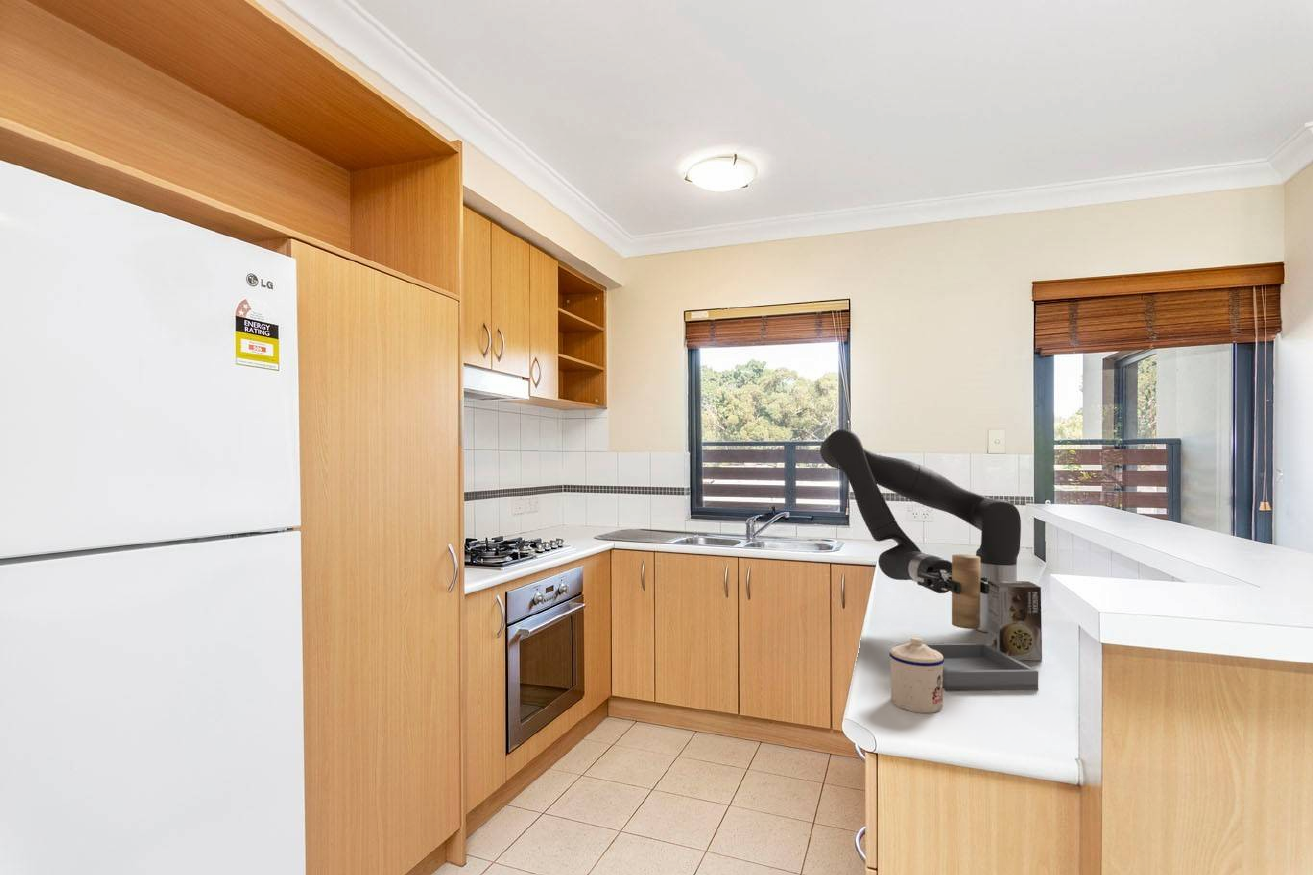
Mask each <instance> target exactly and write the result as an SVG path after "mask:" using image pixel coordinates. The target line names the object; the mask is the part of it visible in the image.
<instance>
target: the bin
mask: <svg viewBox="0 0 1313 875" xmlns="http://www.w3.org/2000/svg"><path fill="white" fill-rule="evenodd" d="M924 644H925V645H927V646H928V647H930V648H931V649H934V650H936V651H938V652H940V653H941V654H942V655H943V658H944V662H943V691H946V692H968V691H969V692H973V691H974V692H975V691H976V692H977V691H979V692H980V691H985V692H986V691H1033V690H1034V691H1038V690H1039V671H1038V670H1037V669H1036V668H1033V667H1031V666H1029V665H1027V664H1025V663H1023V662H1022V661H1021V660H1016V659H1014V658H1012V657H1010V656H1008V655H1006V654H1004V653H1002V652H1001V651H999V650H997V649H995V648H993V647H991V646H989V645H988V643H985V642H976V643H974V642H973V643H971V642H970V643H969V642H968V643H962V642H960V643H955V642H954V643H952V642H951V643H924Z"/></svg>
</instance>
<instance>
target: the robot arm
mask: <svg viewBox="0 0 1313 875" xmlns="http://www.w3.org/2000/svg"><path fill="white" fill-rule="evenodd" d="M819 452H820V457H821V459H822V460H823V461H824V463H826V464H827V465H828V466H829V467H832V468H834V469H836V470H840V471H842V472H843V473H844V474H845V477H846V478H847V479H848V482H849V484H850V486H851V488H852V492H853V494H854V499H855V502H856V505H857V508H858V510H859V513H860V515H861V517H862V519H863V522H864V523H865V525H866V527H867V529H868V532H869V533H870V535H871V537H872V539H873V540H874V541H876V542H884V541H887V540H888V541H889V540H893V541H894V542H895V543H896V544H897V545H895V546H892V547H891V548H889V549H886V550H885V551H883V552H882V553H880V555H879V557H878V559H877V560H878V562H877V563H878V566H879V568H880V570H881V572H882V573H883V574H884V575H885V576H886V577H887V578H890V579H891V580H897V581H913V582H914V583H916V584H917V585H918V586H922V587H923V588H926V589H928V590H930V591H932V592H934V593H937V594H945V593H949V592H951V593H952V592H953V593H955V594H960V593H961V584H960V583H959V582H956V581H953V580H952V561H950V560H948V559H945V558H943V557H939V556H936V555H934V554H929V553H924V552H922V550H921V549H920V548H919V547H918V545H917V544H916V543H915V542H914V541H913V540H912V539H911V538H910V537H909V536H908V535H907V534H906V533H905V532H904V530H903V529H902V528H901V527H900V525H899V524H898V521H897V520H896V518H895V517H894V515H893V512H892V511H891V509H890V507H889V505H888V504H887V502H886V500H885V498H884V496H883V494H882V493H881V491H880V488H879V486H880V487H882V488H885V489H886V490H889V491H891V492H892V493H896V494H897V495H899V496H901V497H903V498H906V499H907V500H910V501H913V502H915V503H917V504H920V505H923V506H925V507H928V508H932V509H934V510H938V511H942V512H945V513H949V514H950V515H953V516H955V517H957V518H958V519H961V520H962V521H964V522H966V523H967V524H969V525H971V526H973V527H975V528H976V529H978V530H979V531H980V532H981V536H980V537H981V538H980V546H979V548H978V549H977V550H976V551H975V556H978V557H980V628H978V629H977V630H978V631H980V632H984V633H987V634H988V593H989V584H988V581H1018V566H1017V565H1018V557H1019V554H1020V551H1021V540H1022V539H1021V538H1022V537H1021V535H1022V520H1021V519H1022V518H1021V515H1020V514H1021V513H1020V511H1019V510H1018V508H1017V506H1016V505H1015V504H1013V503H1011V502H1010V501H1008V500H1004V499H1000V498H998V499H997V498H993V497H988V496H984V495H982V494H979V493H976V492H973V491H970V490H967V489H964V488H962V487H960V486H958V485H957V484H956V483H954V482H953V481H951V480H950V479H948V478H947V477H945V476H943V475H941V474H940V473H938V472H936V471H934V470H933V469H930V468H928V467H925V466H923V465H921V464H919V463H916V462H913V461H910V460H907V459H902V458H898V457H891V456H886V455H881V454H877V453H875V452H872V451H870V450H867V449H865V448H864V447H863V445H862V442H861V440H860V438H859V436H858V435H857V434H856V433H855V432H854V431H852V430H850V429H847V428H839V429H836V430H834V431H833V432H832V433H830V434H829V435H828V436H827V437H826V438H825V439H824V440H823V442H822V443H821V445H820V450H819Z"/></svg>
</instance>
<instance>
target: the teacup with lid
mask: <svg viewBox="0 0 1313 875" xmlns="http://www.w3.org/2000/svg"><path fill="white" fill-rule="evenodd" d="M925 644H926V643H923V639H922V638H921V637H917V636H915V637H911V638H910V642H906V643H904V644H902V645H901V644H900V645H897V646H893V647H892V648H891V649H890V650H889V656H890V700H891V702H892V704H893V705H894V706H896V707H898V708H900V709H902V710H905V711H909V712H912V713H913V712H914V713H919V714H920V713H921V714H933V713H937V712H940V711H941V710H942V709H943V707H944V706H943V705H944V704H943V703H944V702H943V700H944V699H943V698H944V695H943V694H944V693H943V692H944V689H943V662H944V658H943V655H942V654H941V653H940V652H938V651H936V650H934V649H931V648H930V647H928V646H927V645H925Z"/></svg>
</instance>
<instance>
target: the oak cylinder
mask: <svg viewBox="0 0 1313 875" xmlns="http://www.w3.org/2000/svg"><path fill="white" fill-rule="evenodd" d="M951 563H952V580H953V581H956V582H959V583H960V584H961V593H960V594H955V593H953V592H951V624H952V626H953V627H956V628H960V629H968V630H978V628H980V557H978V556H976V555H973V554H952V555H951Z"/></svg>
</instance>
